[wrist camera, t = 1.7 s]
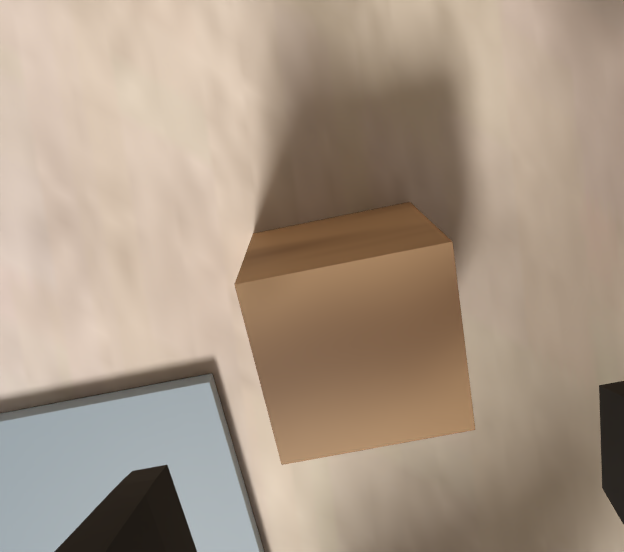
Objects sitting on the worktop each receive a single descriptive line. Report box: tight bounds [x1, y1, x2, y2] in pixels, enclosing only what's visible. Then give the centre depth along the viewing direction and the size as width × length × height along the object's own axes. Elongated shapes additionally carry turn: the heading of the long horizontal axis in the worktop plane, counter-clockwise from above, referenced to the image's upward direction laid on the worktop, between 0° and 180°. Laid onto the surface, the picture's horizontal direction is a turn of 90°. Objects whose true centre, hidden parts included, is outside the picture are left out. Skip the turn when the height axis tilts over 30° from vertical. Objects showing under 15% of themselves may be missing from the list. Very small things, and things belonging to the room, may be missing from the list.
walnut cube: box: [235, 202, 475, 465], centre depth 15 cm, size 5×5×5 cm
